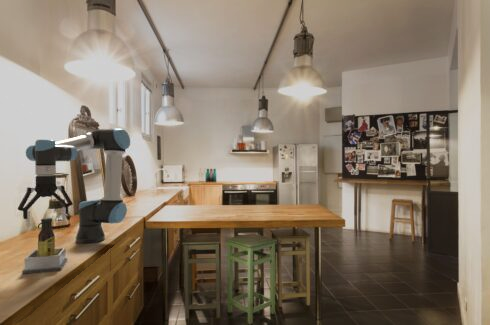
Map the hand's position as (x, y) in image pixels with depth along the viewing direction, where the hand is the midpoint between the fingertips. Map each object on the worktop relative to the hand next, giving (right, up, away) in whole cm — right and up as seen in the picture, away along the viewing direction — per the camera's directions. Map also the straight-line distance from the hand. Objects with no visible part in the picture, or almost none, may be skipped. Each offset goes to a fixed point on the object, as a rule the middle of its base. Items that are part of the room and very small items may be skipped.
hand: (46, 224), depth 138 cm
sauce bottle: (0, -18, 0) cm, 18 cm away
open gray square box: (0, -19, 0) cm, 19 cm away
